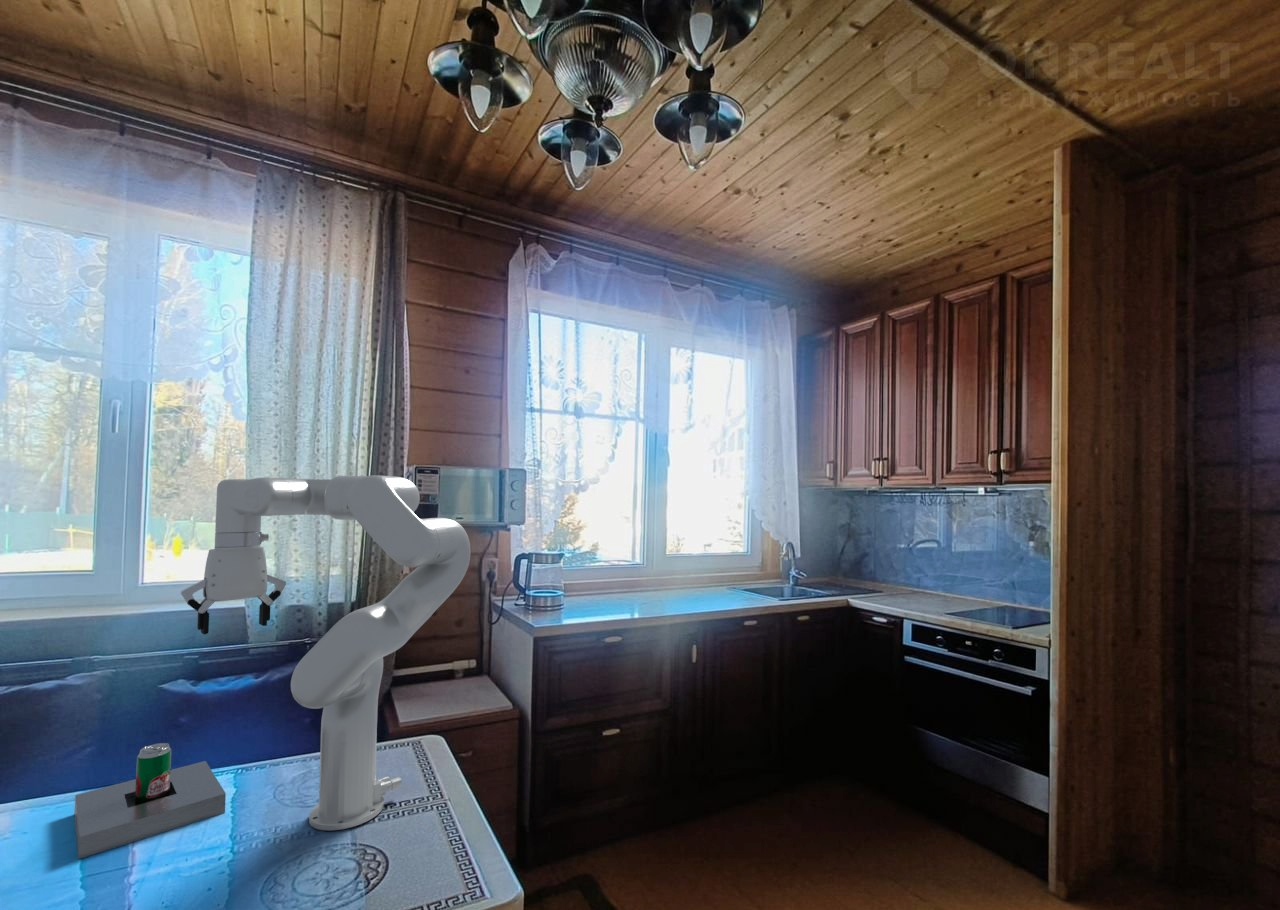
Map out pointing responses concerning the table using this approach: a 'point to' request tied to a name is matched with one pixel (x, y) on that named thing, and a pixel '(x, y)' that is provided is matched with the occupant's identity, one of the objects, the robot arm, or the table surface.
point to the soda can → (153, 773)
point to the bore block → (145, 809)
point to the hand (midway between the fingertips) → (234, 628)
